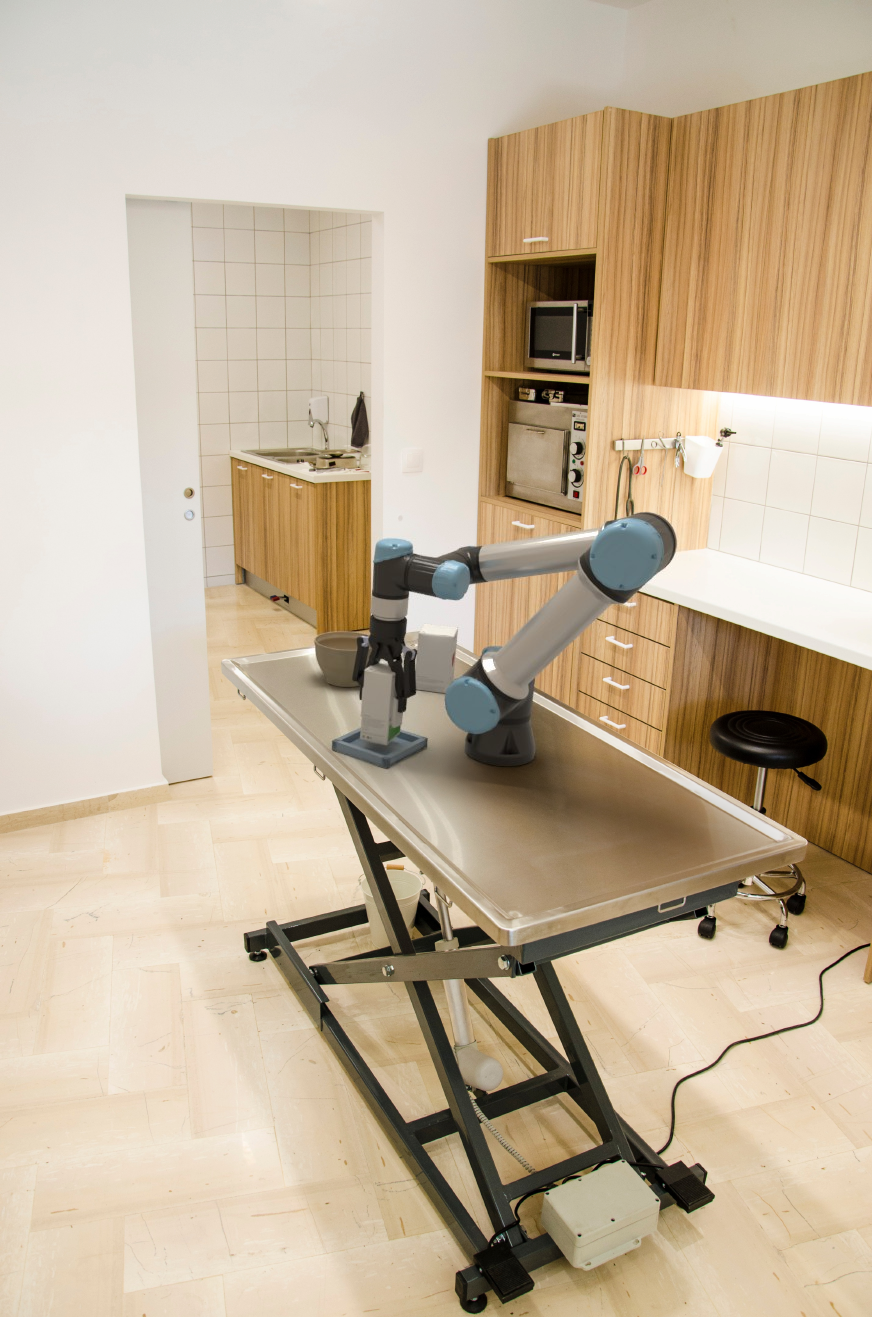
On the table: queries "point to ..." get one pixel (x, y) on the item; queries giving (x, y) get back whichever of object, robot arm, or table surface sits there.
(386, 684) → the skincare box
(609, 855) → the table surface
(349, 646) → the planter bowl
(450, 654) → the supplement box
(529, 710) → the robot arm
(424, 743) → the tray
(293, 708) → the table surface
